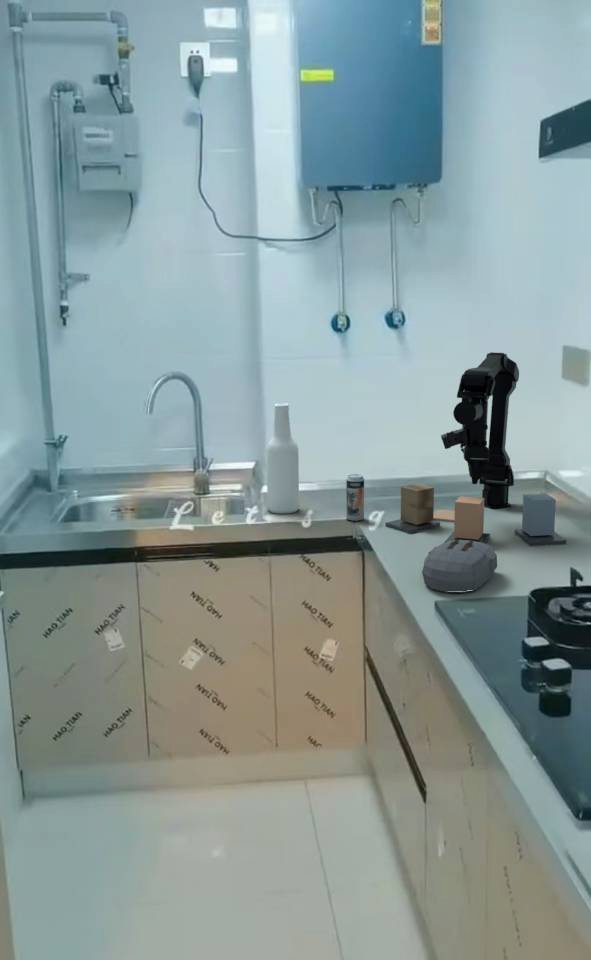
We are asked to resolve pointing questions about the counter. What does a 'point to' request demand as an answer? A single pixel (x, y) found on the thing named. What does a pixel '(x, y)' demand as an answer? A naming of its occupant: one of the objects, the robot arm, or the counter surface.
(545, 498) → the blue-grey rectangular block
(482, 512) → the tan block
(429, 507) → the brown wooden block
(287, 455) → the alcohol
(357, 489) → the beer can
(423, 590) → the counter surface
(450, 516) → the card
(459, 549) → the small grey backpack
